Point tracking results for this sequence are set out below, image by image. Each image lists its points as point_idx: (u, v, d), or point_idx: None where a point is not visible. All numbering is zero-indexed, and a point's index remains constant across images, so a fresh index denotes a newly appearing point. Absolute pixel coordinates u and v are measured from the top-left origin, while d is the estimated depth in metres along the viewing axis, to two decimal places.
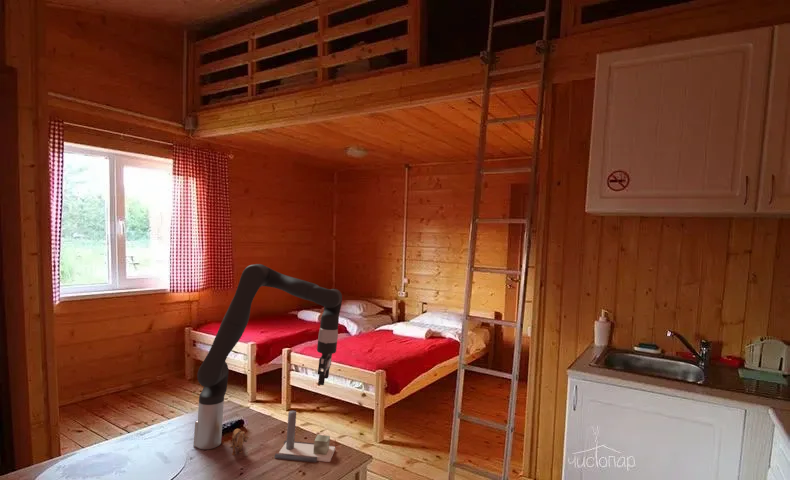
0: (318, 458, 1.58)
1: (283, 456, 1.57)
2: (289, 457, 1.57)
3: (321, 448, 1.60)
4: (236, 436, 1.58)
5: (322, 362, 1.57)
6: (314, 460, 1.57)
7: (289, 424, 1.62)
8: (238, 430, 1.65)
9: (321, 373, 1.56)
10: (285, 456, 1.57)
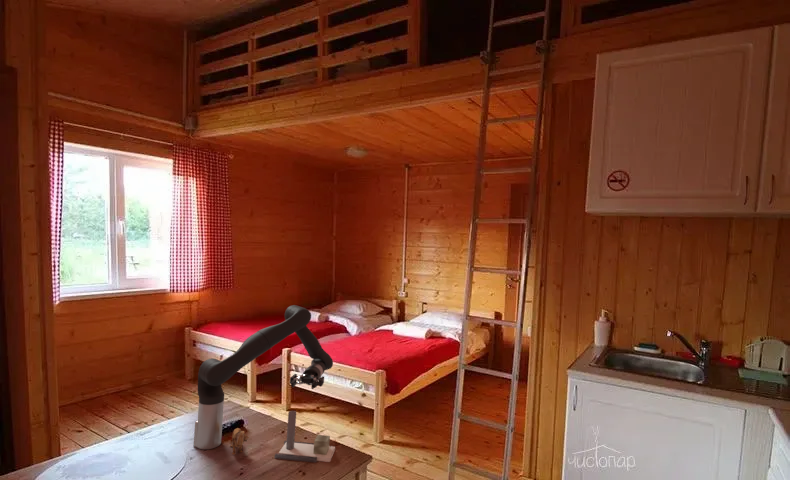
0: (318, 458, 1.58)
1: (283, 456, 1.57)
2: (289, 457, 1.57)
3: (321, 448, 1.60)
4: (236, 436, 1.58)
5: (323, 380, 1.84)
6: (314, 460, 1.57)
7: (289, 424, 1.62)
8: (238, 430, 1.65)
9: (321, 383, 1.80)
10: (285, 456, 1.57)
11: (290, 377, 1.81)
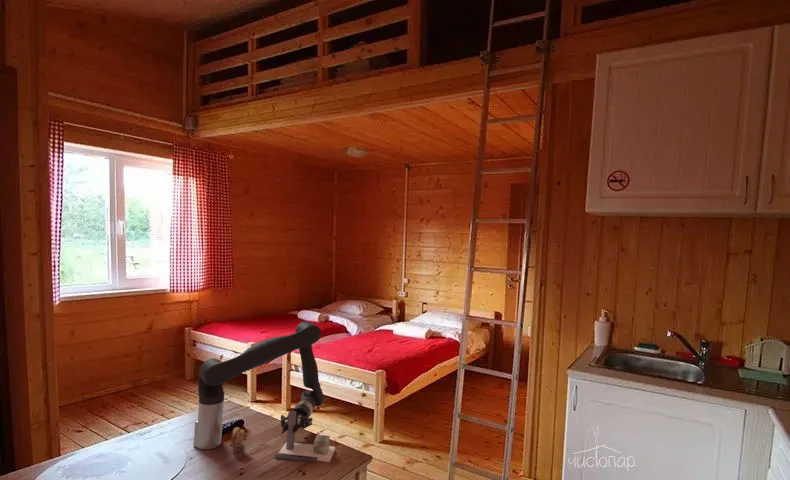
0: (318, 458, 1.58)
1: (283, 456, 1.57)
2: (289, 457, 1.57)
3: (321, 448, 1.60)
4: (236, 434, 1.59)
5: (310, 422, 1.68)
6: (314, 460, 1.57)
7: (289, 424, 1.62)
8: (237, 428, 1.66)
9: (304, 425, 1.65)
10: (285, 456, 1.57)
11: (281, 420, 1.66)
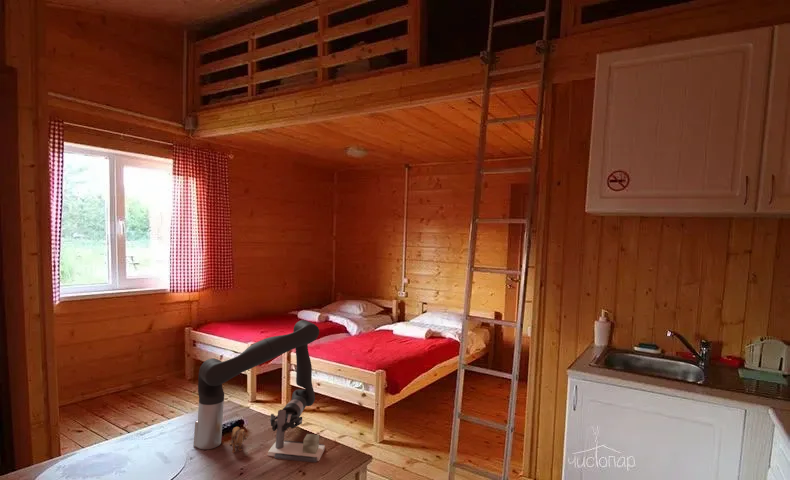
0: None
1: (283, 456, 1.57)
2: (289, 457, 1.57)
3: (310, 447, 1.60)
4: (236, 434, 1.59)
5: (300, 421, 1.69)
6: (314, 460, 1.57)
7: (278, 423, 1.62)
8: (237, 428, 1.67)
9: (293, 424, 1.65)
10: (285, 456, 1.57)
11: (271, 419, 1.66)
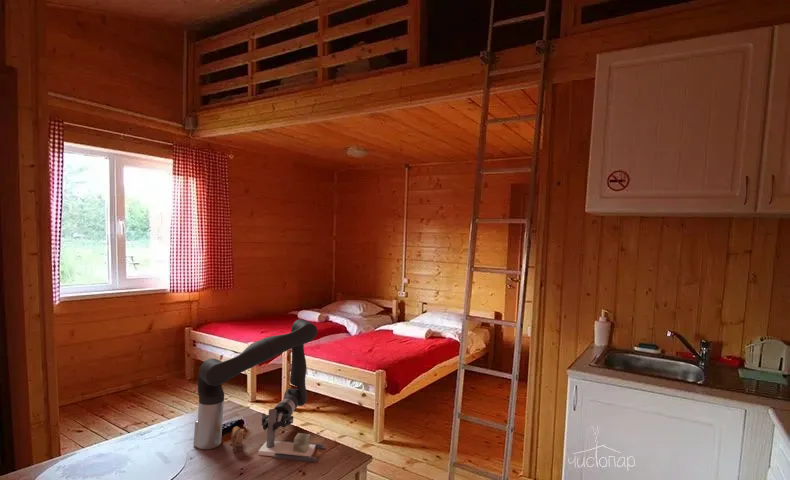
0: None
1: (283, 456, 1.57)
2: (289, 457, 1.57)
3: (300, 446, 1.60)
4: (236, 433, 1.60)
5: (291, 420, 1.69)
6: (314, 460, 1.57)
7: (269, 422, 1.63)
8: (237, 428, 1.67)
9: (284, 424, 1.66)
10: (285, 456, 1.57)
11: (262, 418, 1.66)
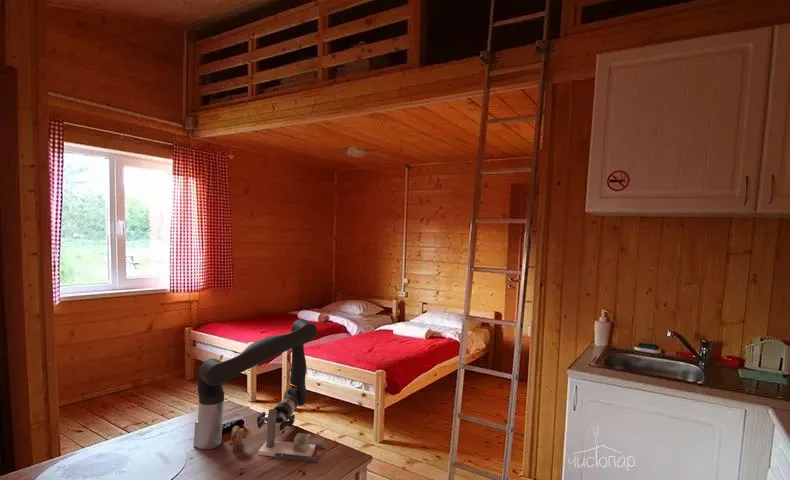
0: None
1: (283, 456, 1.57)
2: (289, 457, 1.57)
3: (300, 446, 1.60)
4: (236, 433, 1.60)
5: (294, 419, 1.71)
6: (314, 460, 1.57)
7: (269, 422, 1.63)
8: (237, 427, 1.67)
9: (291, 423, 1.67)
10: (285, 456, 1.57)
11: None
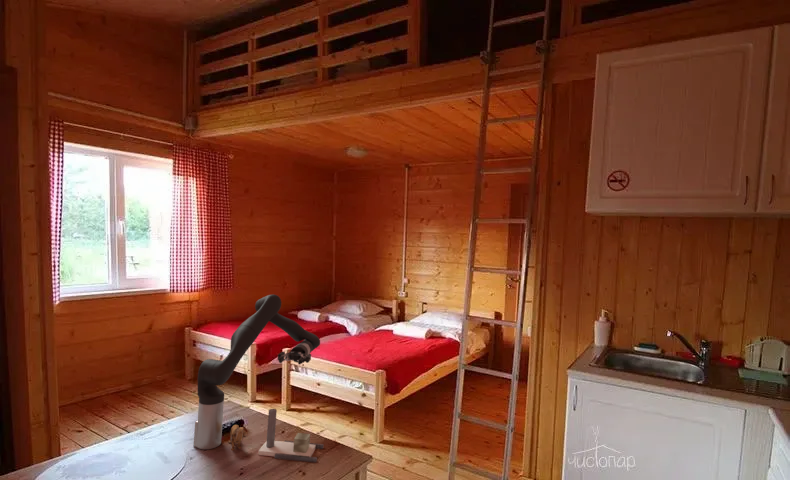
0: None
1: (283, 456, 1.57)
2: (289, 457, 1.57)
3: (300, 446, 1.60)
4: (235, 432, 1.61)
5: (310, 357, 1.91)
6: (314, 460, 1.57)
7: (269, 422, 1.63)
8: (236, 426, 1.68)
9: (308, 360, 1.87)
10: (285, 456, 1.57)
11: (278, 354, 1.88)
